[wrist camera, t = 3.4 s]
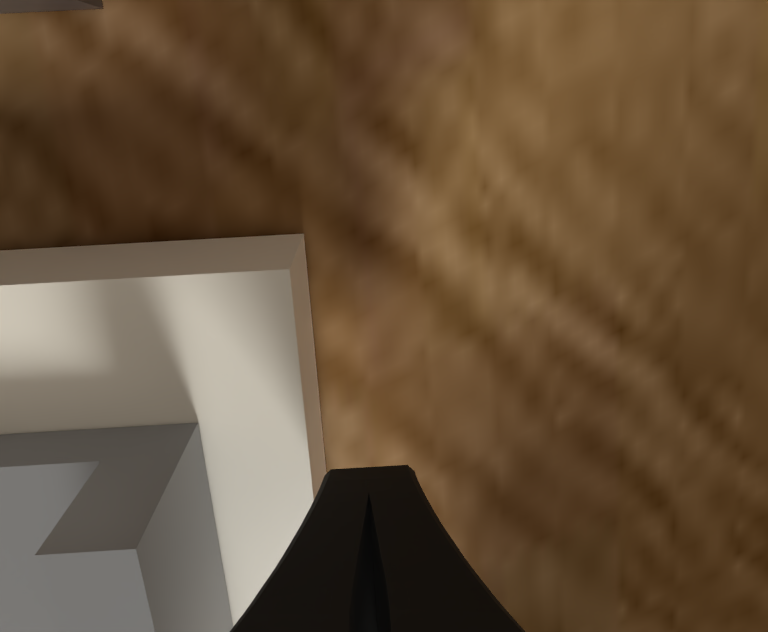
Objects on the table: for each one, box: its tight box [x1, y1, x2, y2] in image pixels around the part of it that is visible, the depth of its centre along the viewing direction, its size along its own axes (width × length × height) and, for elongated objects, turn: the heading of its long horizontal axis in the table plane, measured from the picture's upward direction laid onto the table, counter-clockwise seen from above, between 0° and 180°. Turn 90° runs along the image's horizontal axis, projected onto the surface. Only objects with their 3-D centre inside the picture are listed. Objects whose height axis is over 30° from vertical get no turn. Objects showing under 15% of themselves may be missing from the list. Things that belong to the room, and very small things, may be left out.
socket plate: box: [0, 234, 327, 627], centre depth 13 cm, size 11×12×2 cm
